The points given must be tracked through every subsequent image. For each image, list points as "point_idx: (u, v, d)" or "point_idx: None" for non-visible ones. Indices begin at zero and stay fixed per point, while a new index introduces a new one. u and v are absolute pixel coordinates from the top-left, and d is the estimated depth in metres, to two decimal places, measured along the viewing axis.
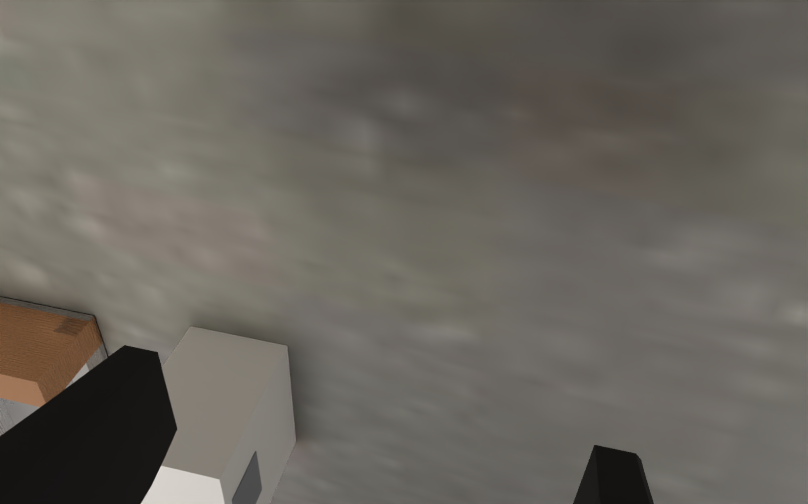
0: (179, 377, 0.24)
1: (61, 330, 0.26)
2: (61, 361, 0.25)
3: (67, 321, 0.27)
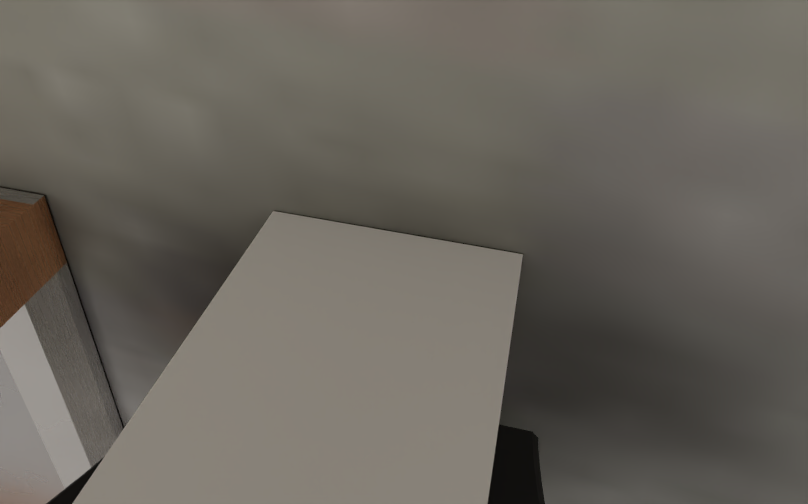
0: (261, 328, 0.09)
1: None
2: None
3: None
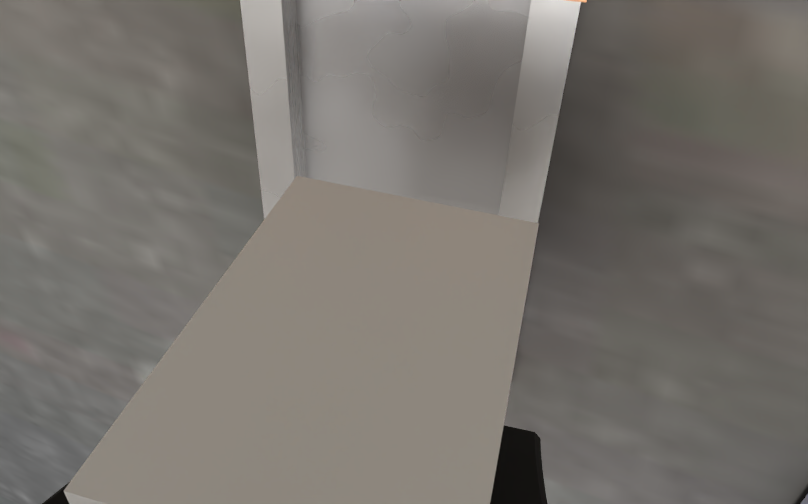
0: (284, 283, 0.09)
1: None
2: None
3: None
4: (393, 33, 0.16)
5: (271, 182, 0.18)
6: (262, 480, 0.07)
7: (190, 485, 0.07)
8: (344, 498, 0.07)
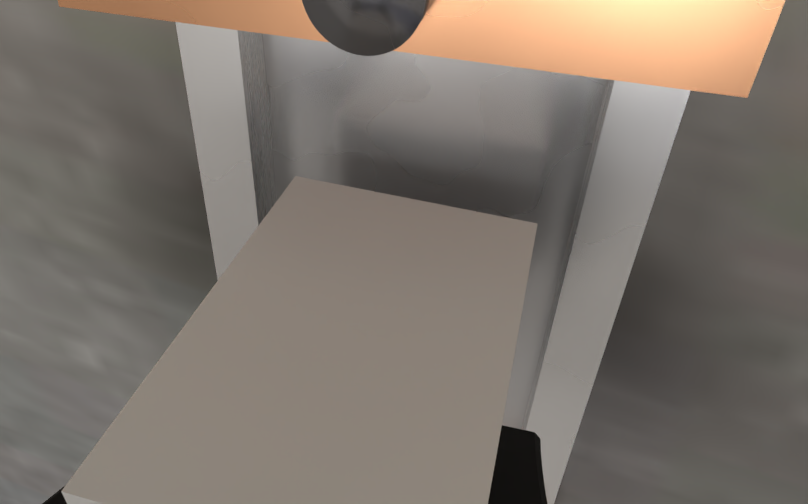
0: (283, 283, 0.09)
1: None
2: None
3: None
4: (404, 100, 0.11)
5: None
6: (260, 480, 0.07)
7: (188, 485, 0.07)
8: (342, 498, 0.07)
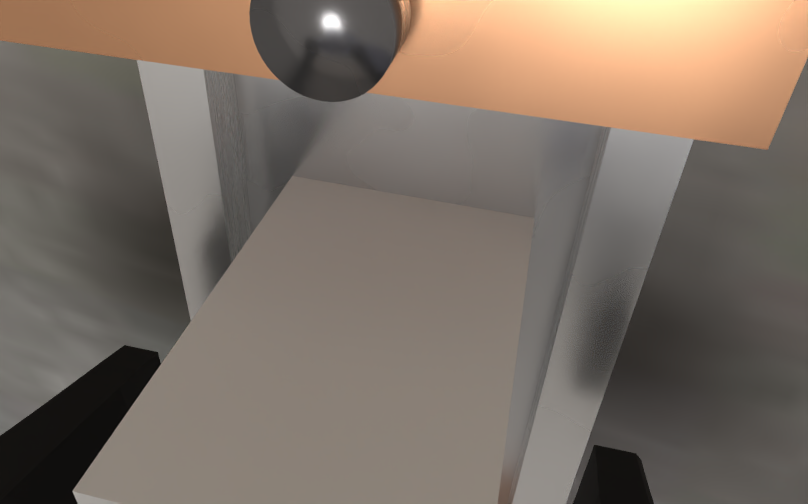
0: (285, 281, 0.09)
1: None
2: None
3: None
4: (386, 129, 0.10)
5: None
6: (272, 475, 0.07)
7: (200, 482, 0.07)
8: (354, 490, 0.07)
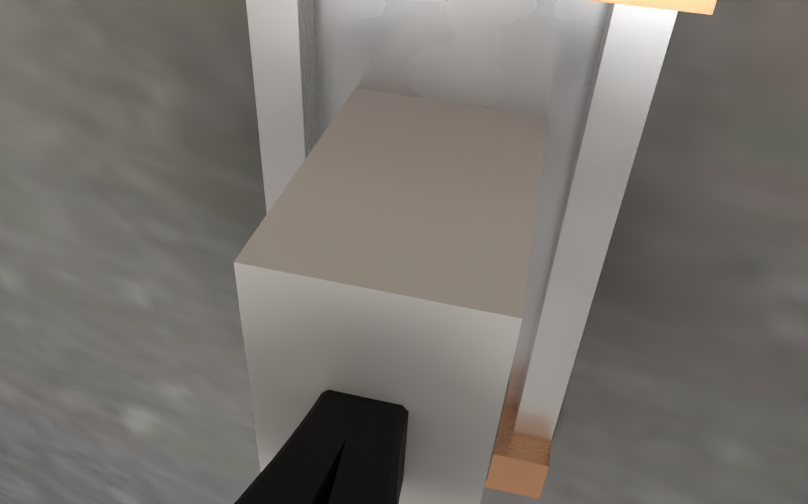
0: (360, 152, 0.12)
1: None
2: None
3: None
4: (432, 45, 0.13)
5: None
6: (369, 257, 0.10)
7: (320, 259, 0.09)
8: (427, 267, 0.09)
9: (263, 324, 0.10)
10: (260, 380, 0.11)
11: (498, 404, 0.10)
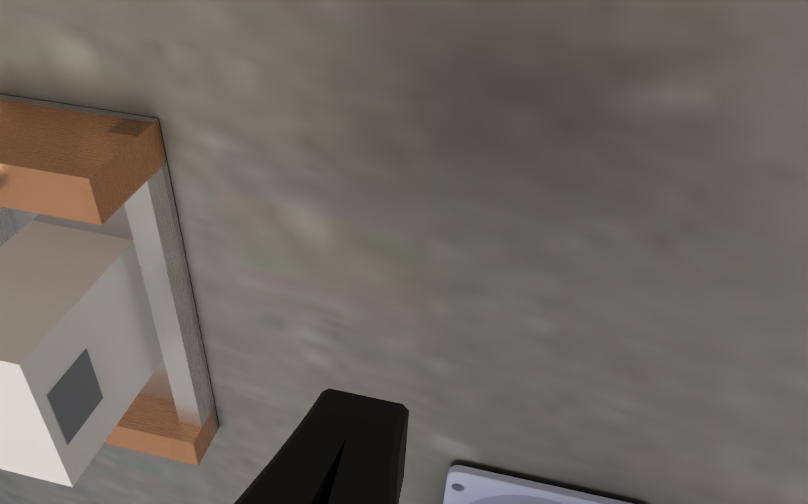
0: (3, 267, 0.22)
1: (116, 130, 0.20)
2: (119, 162, 0.19)
3: (123, 122, 0.20)
4: None
5: None
6: None
7: None
8: None
9: None
10: None
11: (35, 404, 0.20)
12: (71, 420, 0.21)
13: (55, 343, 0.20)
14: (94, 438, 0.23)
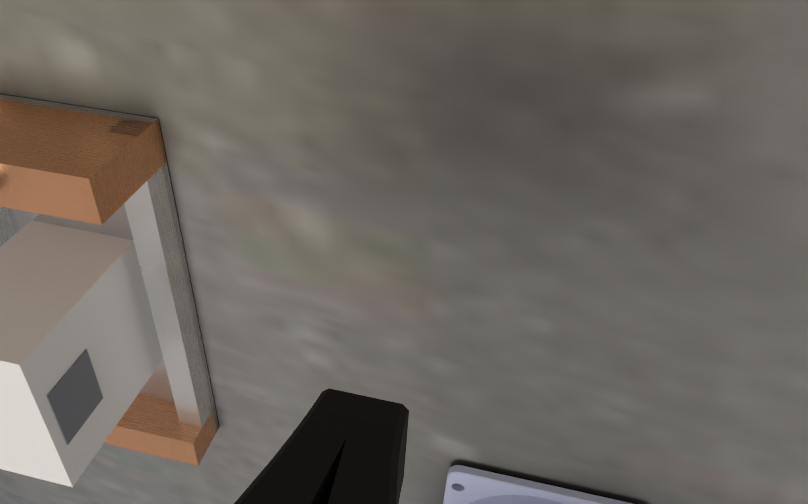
0: (3, 267, 0.22)
1: (116, 130, 0.20)
2: (119, 162, 0.19)
3: (123, 122, 0.20)
4: None
5: None
6: None
7: None
8: None
9: None
10: None
11: (35, 404, 0.20)
12: (71, 420, 0.21)
13: (55, 343, 0.20)
14: (94, 438, 0.23)
